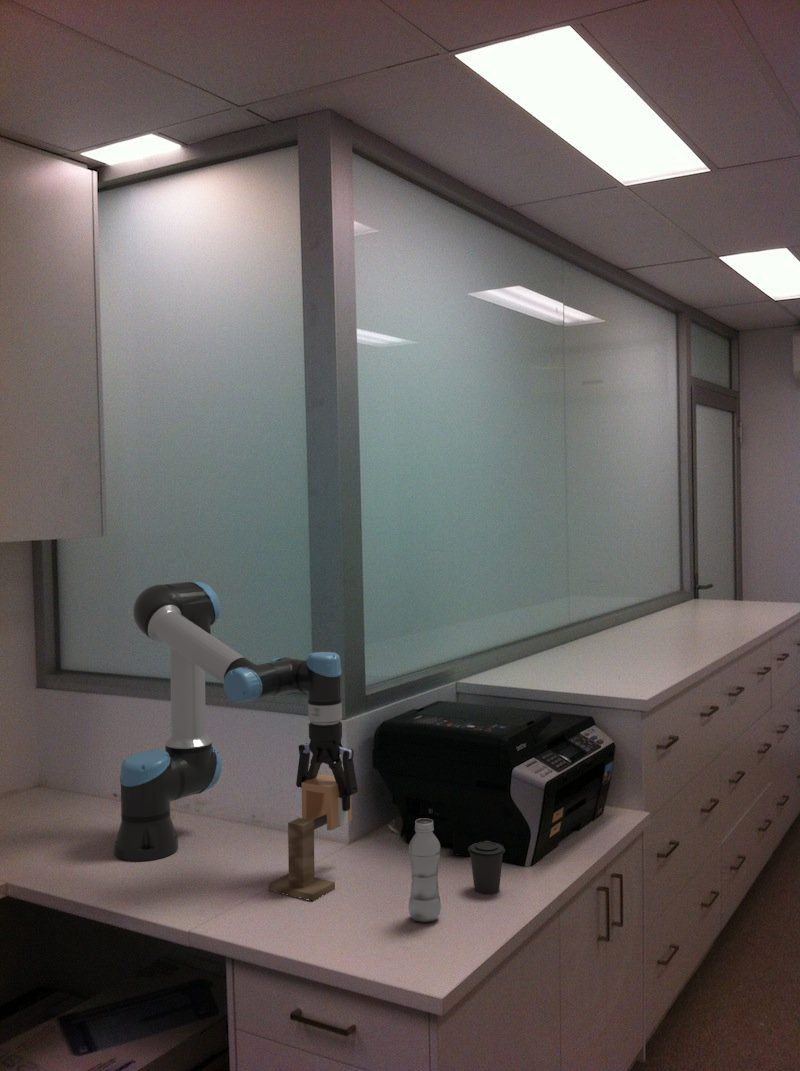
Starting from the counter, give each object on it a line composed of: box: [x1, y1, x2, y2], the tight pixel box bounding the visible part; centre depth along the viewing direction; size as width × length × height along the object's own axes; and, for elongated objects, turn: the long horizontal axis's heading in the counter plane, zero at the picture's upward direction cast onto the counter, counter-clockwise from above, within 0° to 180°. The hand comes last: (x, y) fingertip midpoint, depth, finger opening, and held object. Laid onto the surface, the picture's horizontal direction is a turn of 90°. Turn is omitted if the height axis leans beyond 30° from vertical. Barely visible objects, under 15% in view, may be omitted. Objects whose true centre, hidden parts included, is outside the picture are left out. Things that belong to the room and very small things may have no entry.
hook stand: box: [268, 814, 336, 902], centre depth 223 cm, size 12×22×16 cm, turn 149°
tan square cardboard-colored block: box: [301, 773, 353, 831], centre depth 224 cm, size 8×8×10 cm
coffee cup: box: [468, 840, 506, 896], centre depth 216 cm, size 8×8×10 cm
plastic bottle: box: [408, 817, 442, 923], centre depth 201 cm, size 6×7×20 cm
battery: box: [452, 833, 471, 857], centre depth 240 cm, size 4×7×10 cm, turn 155°
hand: (327, 821), depth 225 cm, fingers closed on tan square cardboard-colored block, 8 cm apart
